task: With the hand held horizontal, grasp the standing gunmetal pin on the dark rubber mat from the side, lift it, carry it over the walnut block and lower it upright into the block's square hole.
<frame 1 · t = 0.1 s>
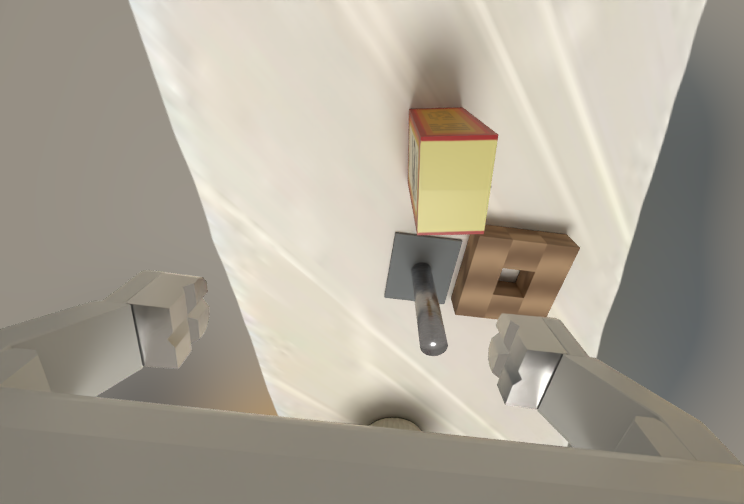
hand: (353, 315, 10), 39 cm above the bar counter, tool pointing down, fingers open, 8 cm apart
mat: (421, 269, 55), on the bar counter
canister: (393, 431, 77), on the bar counter
hole block: (505, 268, 55), on the bar counter
pin: (421, 271, 55), resting on mat
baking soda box: (433, 146, 46), on the bar counter
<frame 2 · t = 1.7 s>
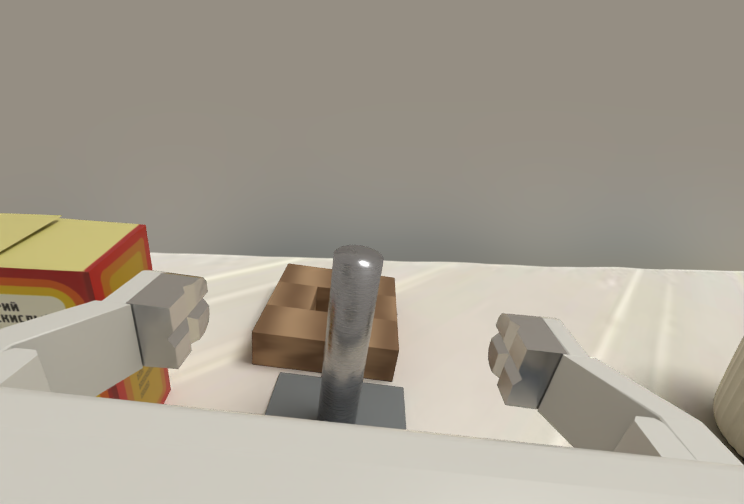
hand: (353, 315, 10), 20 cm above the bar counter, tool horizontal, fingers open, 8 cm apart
mat: (335, 428, 29), on the bar counter
hole block: (332, 328, 41), on the bar counter
pin: (335, 425, 29), resting on mat
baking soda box: (88, 424, 27), on the bar counter
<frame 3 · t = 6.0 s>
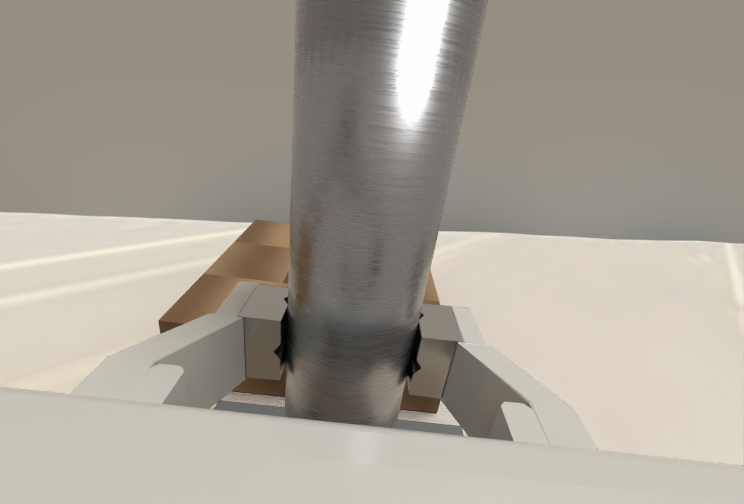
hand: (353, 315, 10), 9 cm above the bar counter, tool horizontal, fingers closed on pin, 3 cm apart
hole block: (324, 318, 25), on the bar counter
when the fingers open (10 cm above the bar counter, at t = 10.5 s): pin drops 1 cm, resting in hole block.
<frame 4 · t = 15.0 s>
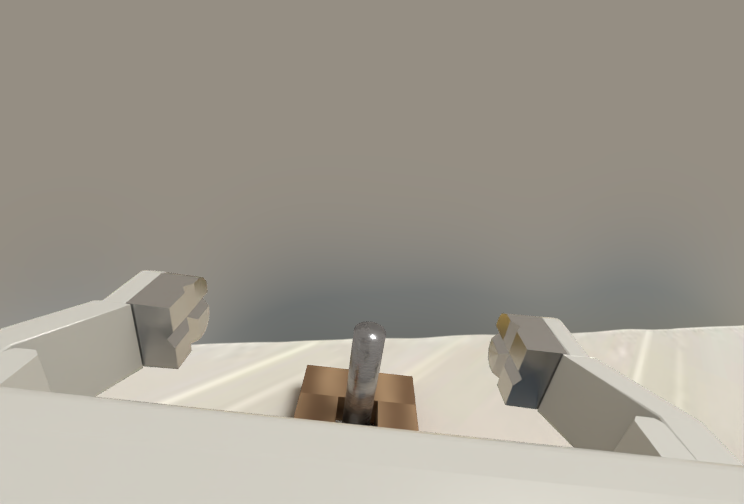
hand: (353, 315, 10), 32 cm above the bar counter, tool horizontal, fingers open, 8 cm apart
hole block: (353, 439, 41), on the bar counter
pin: (353, 439, 41), resting in hole block
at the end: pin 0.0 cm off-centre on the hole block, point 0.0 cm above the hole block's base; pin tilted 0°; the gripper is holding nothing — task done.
